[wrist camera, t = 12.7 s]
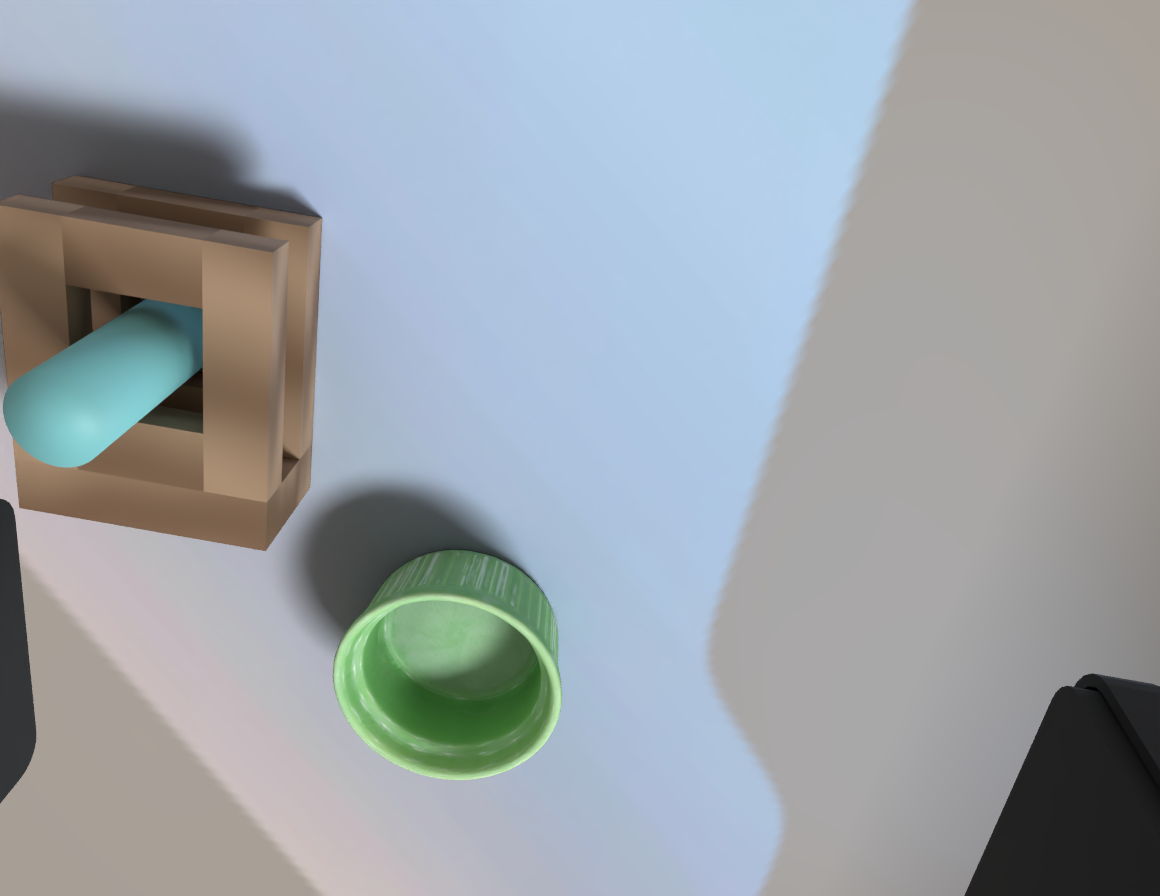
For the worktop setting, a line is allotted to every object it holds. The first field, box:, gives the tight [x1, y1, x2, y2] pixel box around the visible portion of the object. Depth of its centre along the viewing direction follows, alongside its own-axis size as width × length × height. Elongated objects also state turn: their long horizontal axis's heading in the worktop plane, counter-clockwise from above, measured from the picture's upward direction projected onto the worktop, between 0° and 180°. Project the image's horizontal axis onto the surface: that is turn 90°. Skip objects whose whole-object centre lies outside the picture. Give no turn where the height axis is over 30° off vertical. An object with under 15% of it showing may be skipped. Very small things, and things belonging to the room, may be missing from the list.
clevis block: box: [0, 175, 322, 551], centre depth 36 cm, size 11×9×5 cm
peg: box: [3, 299, 203, 468], centre depth 34 cm, size 3×3×10 cm
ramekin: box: [333, 550, 562, 780], centre depth 42 cm, size 9×9×4 cm
